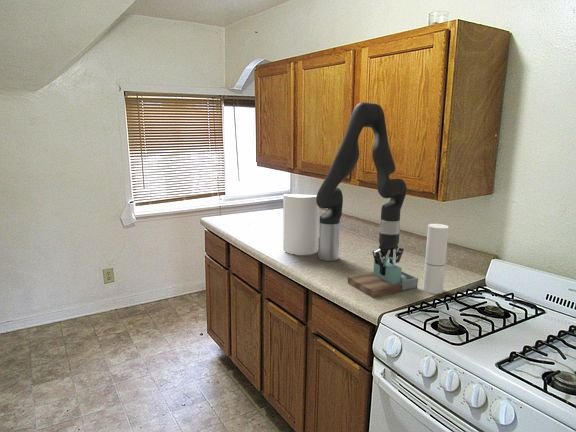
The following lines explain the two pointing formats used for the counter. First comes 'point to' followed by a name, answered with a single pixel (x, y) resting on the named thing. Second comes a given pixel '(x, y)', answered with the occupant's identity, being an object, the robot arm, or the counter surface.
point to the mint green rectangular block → (389, 273)
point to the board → (373, 285)
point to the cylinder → (300, 224)
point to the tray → (408, 282)
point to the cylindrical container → (435, 258)
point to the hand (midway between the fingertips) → (386, 274)
